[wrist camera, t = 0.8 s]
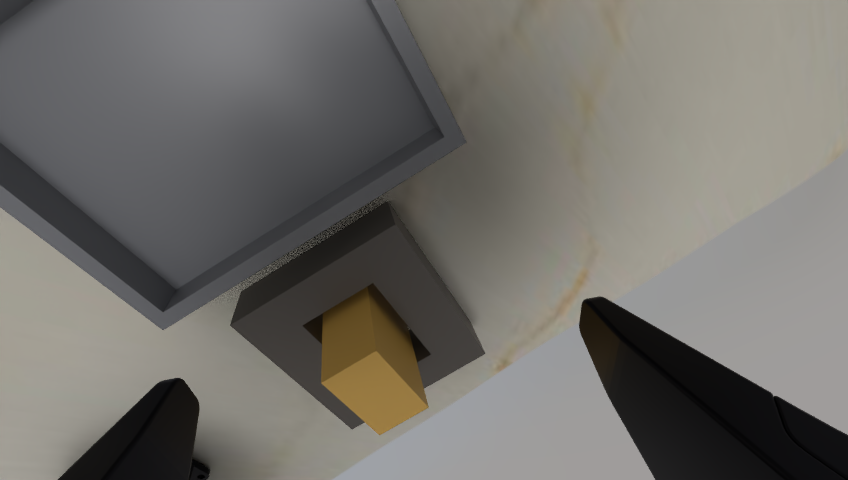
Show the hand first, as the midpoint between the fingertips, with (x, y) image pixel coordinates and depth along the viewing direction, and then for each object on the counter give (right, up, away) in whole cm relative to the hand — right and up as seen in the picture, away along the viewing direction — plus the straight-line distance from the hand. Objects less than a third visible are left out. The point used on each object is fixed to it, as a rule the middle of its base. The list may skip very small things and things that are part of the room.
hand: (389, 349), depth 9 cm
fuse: (-3, -2, +17) cm, 17 cm away
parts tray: (-9, +9, +9) cm, 16 cm away
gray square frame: (-3, -2, +17) cm, 17 cm away
